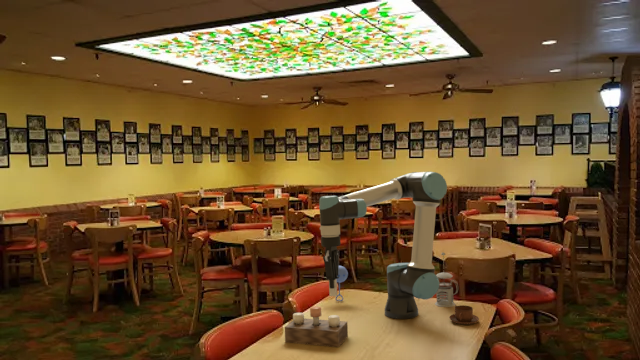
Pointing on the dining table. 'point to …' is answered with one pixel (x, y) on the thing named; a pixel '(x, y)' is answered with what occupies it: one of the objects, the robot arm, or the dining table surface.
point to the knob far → (298, 318)
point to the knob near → (333, 320)
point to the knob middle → (315, 314)
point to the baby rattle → (341, 278)
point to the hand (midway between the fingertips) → (333, 295)
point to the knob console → (316, 333)
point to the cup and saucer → (464, 315)
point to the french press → (445, 290)
